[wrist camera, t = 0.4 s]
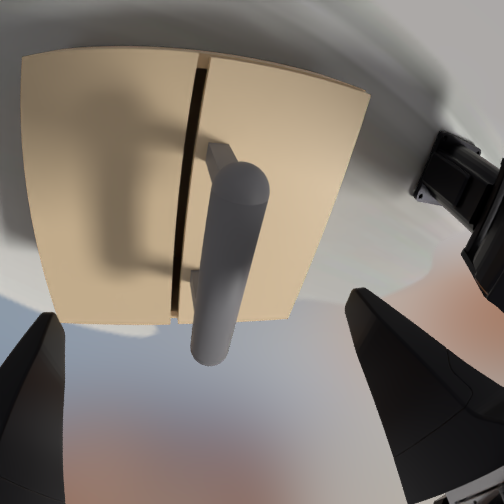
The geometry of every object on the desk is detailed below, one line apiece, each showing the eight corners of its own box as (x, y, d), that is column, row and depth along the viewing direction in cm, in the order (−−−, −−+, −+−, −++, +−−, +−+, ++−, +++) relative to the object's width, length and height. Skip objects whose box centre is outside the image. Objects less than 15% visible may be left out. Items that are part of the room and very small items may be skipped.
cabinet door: (364, 92, 12) (450, 133, 8) (285, 312, 20) (314, 383, 16) (209, 56, 10) (239, 69, 6) (177, 317, 18) (188, 399, 14)
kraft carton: (314, 72, 16) (372, 93, 11) (262, 259, 24) (287, 319, 20) (68, 48, 12) (22, 56, 7) (75, 256, 20) (59, 322, 15)
